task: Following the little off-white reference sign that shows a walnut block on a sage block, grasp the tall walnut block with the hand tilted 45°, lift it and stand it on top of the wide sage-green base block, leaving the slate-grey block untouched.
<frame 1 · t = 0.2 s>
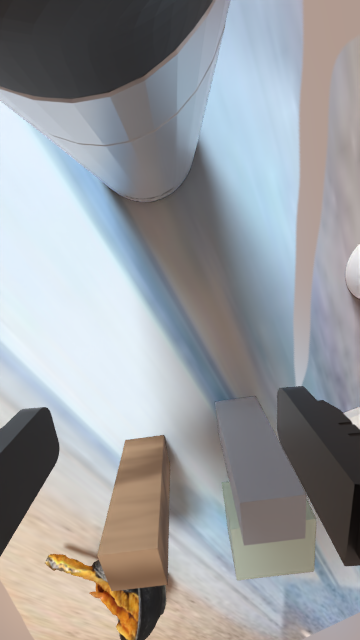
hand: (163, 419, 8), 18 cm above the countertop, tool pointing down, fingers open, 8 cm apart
walnut block: (148, 452, 32), on the countertop
sage base block: (258, 501, 36), on the countertop
small rounded object: (116, 554, 39), on the countertop
slate block: (236, 415, 30), on the countertop
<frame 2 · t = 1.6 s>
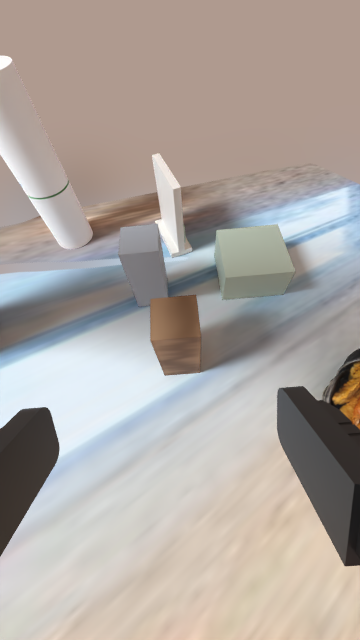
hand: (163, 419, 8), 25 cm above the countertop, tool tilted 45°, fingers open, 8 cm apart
walnut block: (181, 357, 36), on the countertop
sage base block: (246, 274, 43), on the countertop
small rounded object: (342, 412, 31), on the countertop
reference sign: (173, 237, 48), on the countertop
slate block: (153, 293, 42), on the countertop
cylindrical container: (76, 237, 50), on the countertop
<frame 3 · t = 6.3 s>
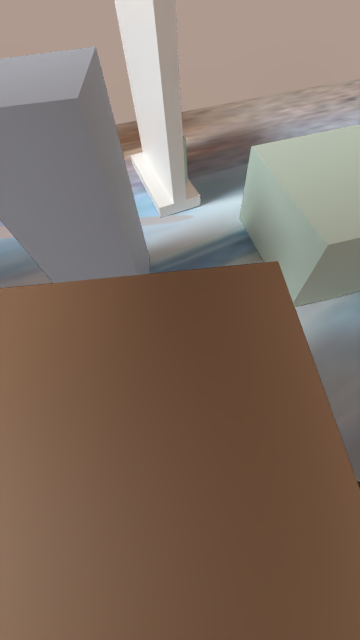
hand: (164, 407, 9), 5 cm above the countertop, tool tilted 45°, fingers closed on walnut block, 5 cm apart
walnut block: (179, 461, 13), on the countertop, touching gripper
sage base block: (319, 245, 20), on the countertop
reference sign: (163, 183, 25), on the countertop
slate block: (118, 287, 19), on the countertop
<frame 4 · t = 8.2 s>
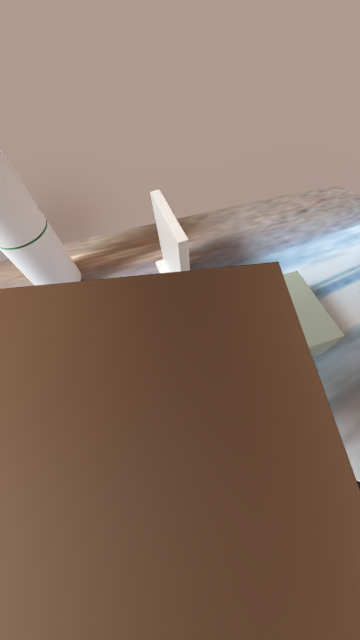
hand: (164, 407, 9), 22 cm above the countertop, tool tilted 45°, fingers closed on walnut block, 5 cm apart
walnut block: (179, 461, 13), point 17 cm above the countertop, touching gripper
sage base block: (269, 334, 34), on the countertop
reference sign: (177, 283, 40), on the countertop
cylindrical container: (61, 281, 42), on the countertop
when the fingers open (13 cm above the countertop, at t = 12.2 s): walnut block drops 2 cm, point 6 cm above the countertop.
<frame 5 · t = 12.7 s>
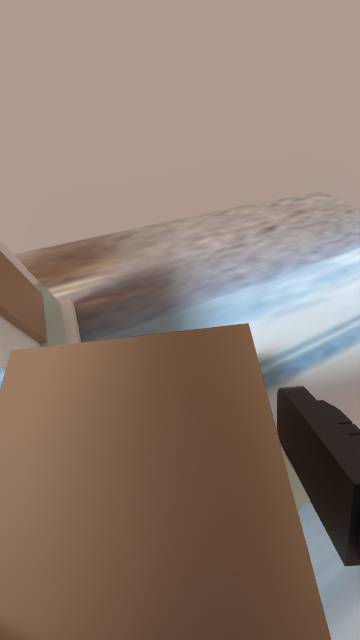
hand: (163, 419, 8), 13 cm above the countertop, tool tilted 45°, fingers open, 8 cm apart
walnut block: (180, 461, 14), point 6 cm above the countertop
sage base block: (191, 453, 20), on the countertop
reference sign: (61, 346, 25), on the countertop
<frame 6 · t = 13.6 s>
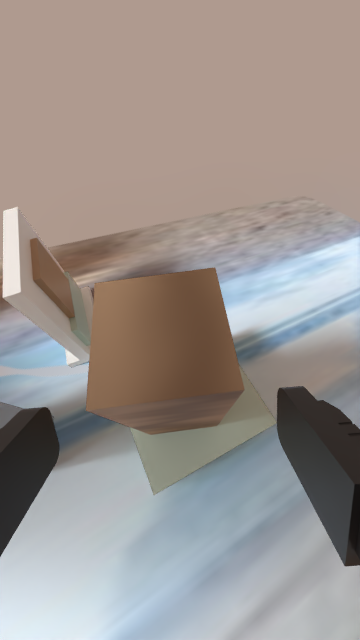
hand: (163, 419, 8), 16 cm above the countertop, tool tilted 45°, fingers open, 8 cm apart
walnut block: (179, 396, 19), point 6 cm above the countertop
sage base block: (189, 406, 25), on the countertop
reference sign: (82, 325, 30), on the countertop
slate block: (23, 445, 24), on the countertop
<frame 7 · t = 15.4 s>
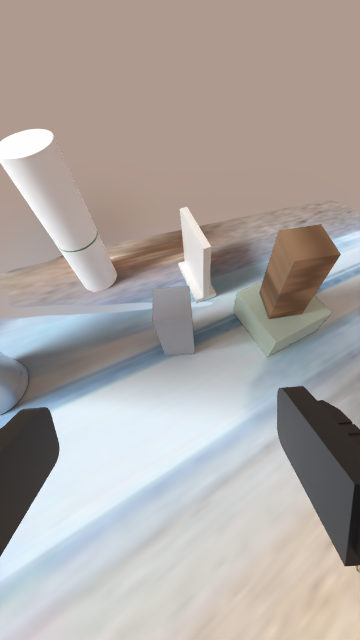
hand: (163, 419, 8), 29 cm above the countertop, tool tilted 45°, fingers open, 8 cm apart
walnut block: (279, 303, 37), point 6 cm above the countertop, touching sage base block
sage base block: (272, 321, 43), on the countertop, touching walnut block
reference sign: (196, 280, 48), on the countertop
slate block: (179, 341, 42), on the countertop
cylindrical container: (100, 278, 51), on the countertop
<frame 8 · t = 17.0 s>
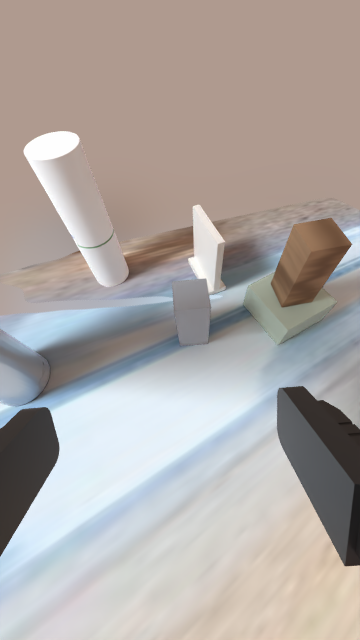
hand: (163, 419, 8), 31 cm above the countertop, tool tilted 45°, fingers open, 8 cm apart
walnut block: (290, 292, 40), point 6 cm above the countertop
sage base block: (280, 312, 45), on the countertop
reference sign: (206, 275, 51), on the countertop
slate block: (192, 332, 44), on the countertop
cylindrical container: (112, 274, 53), on the countertop
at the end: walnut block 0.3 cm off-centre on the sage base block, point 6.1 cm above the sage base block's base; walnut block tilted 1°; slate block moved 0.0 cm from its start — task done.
